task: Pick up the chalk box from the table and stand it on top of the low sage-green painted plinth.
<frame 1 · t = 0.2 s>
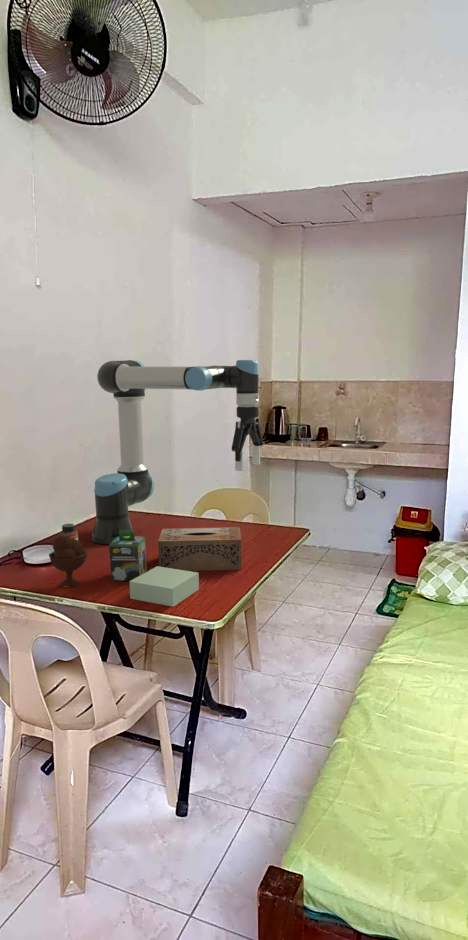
hand: (248, 467, 219), 28 cm above the table, tool pointing down, fingers open, 13 cm apart
supplement bottle: (70, 558, 212), on the table
ice cream bowl: (69, 584, 187), on the table
tissue box cover: (200, 564, 205), on the table
plinth: (165, 593, 179), on the table
chalk box: (129, 576, 194), on the table
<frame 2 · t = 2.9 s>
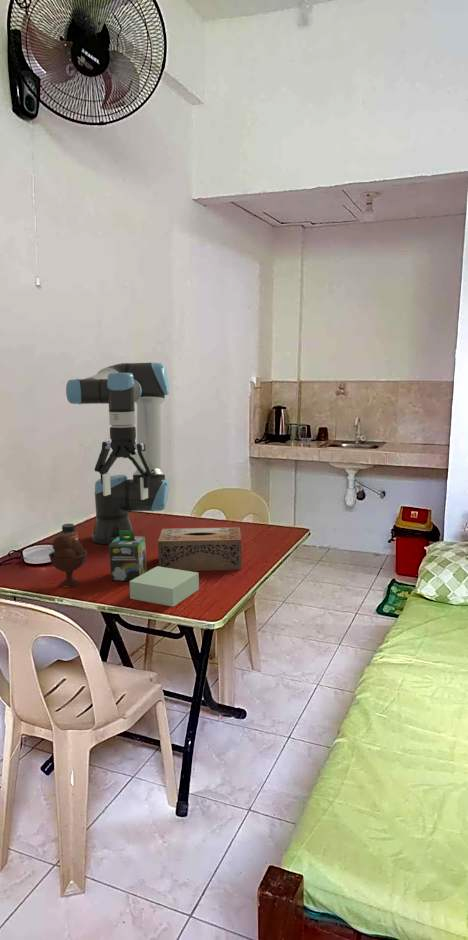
hand: (125, 497, 189), 25 cm above the table, tool pointing down, fingers open, 13 cm apart
nothing on the table moved.
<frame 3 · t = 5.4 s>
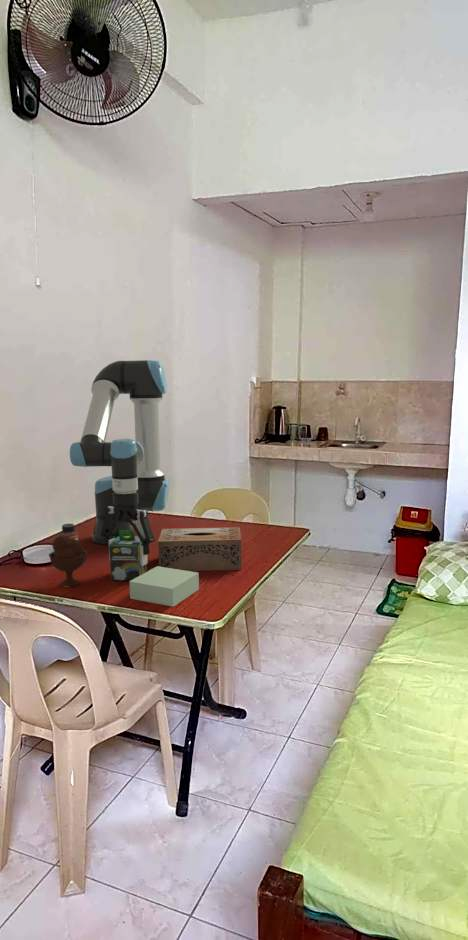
hand: (128, 562, 193), 4 cm above the table, tool pointing down, fingers closed on chalk box, 11 cm apart
chalk box: (129, 576, 194), on the table, touching gripper
everything else where it was.
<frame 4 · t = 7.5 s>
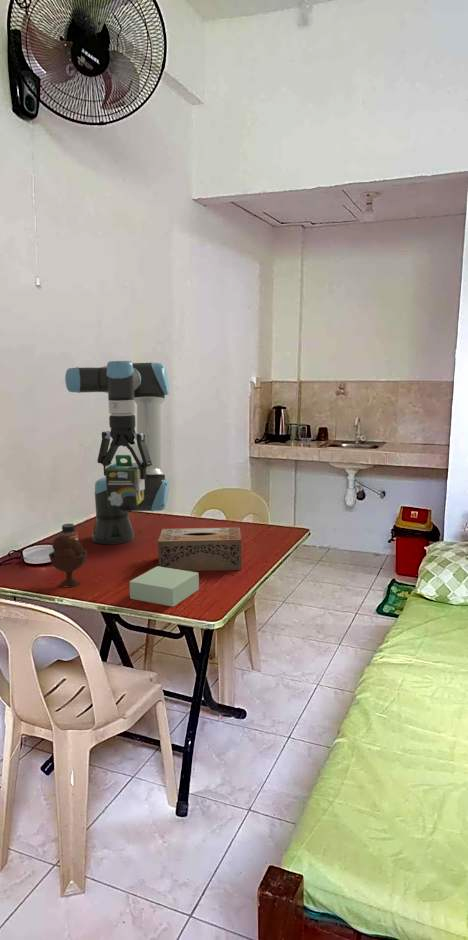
hand: (125, 488, 189), 27 cm above the table, tool pointing down, fingers closed on chalk box, 11 cm apart
chalk box: (125, 503, 190), point 23 cm above the table, touching gripper
everything else where it was.
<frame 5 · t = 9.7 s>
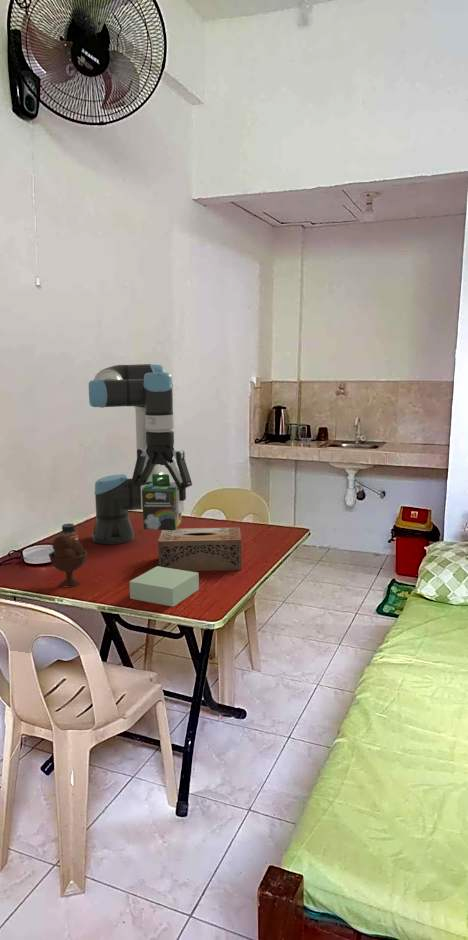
hand: (162, 510, 174), 24 cm above the table, tool pointing down, fingers closed on chalk box, 11 cm apart
chalk box: (162, 526, 175), point 20 cm above the table, touching gripper
everything else where it was.
when the fingers open (11 cm above the table, at t = 12.9 s): chalk box drops 1 cm, resting on plinth.
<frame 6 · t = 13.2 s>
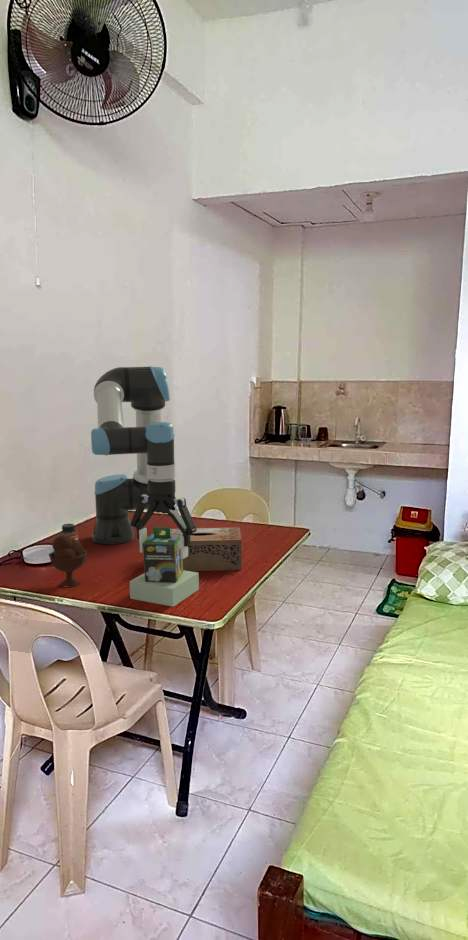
hand: (163, 554, 177), 12 cm above the table, tool pointing down, fingers open, 13 cm apart
chalk box: (164, 577, 178), point 5 cm above the table, touching plinth
everything else where it was.
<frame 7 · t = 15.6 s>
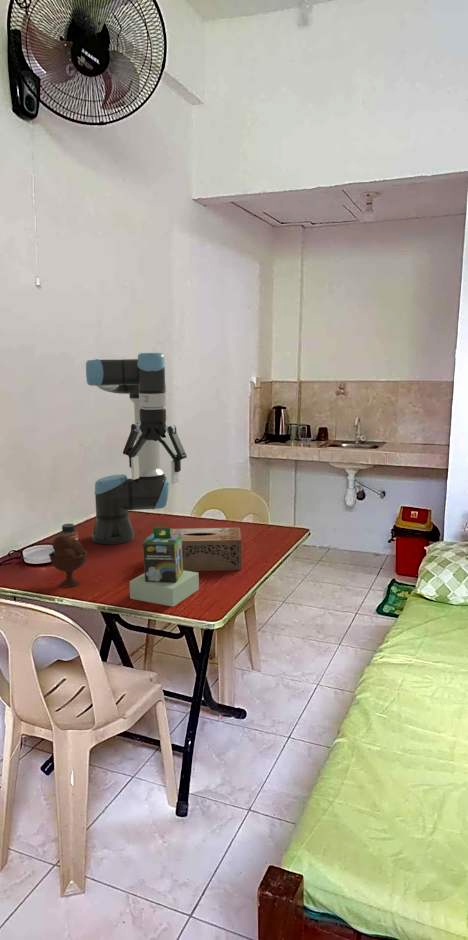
hand: (155, 480, 184), 30 cm above the table, tool pointing down, fingers open, 13 cm apart
nothing on the table moved.
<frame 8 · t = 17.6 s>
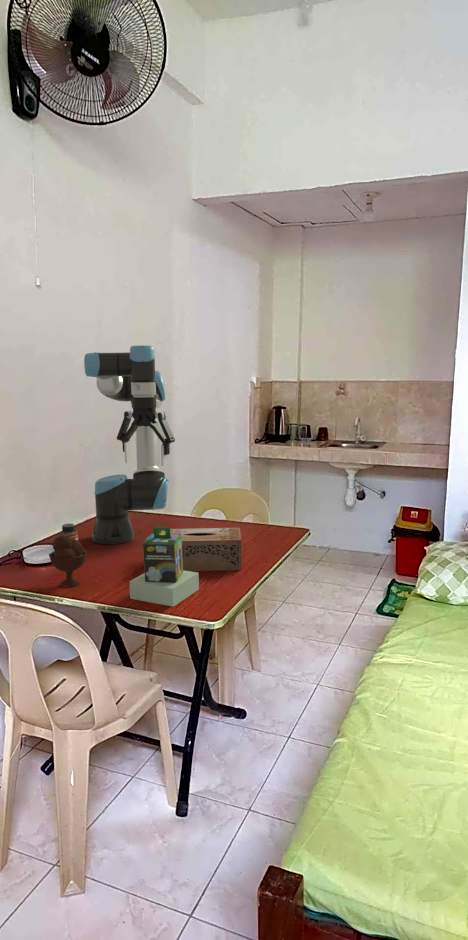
hand: (146, 463, 200), 33 cm above the table, tool pointing down, fingers open, 13 cm apart
nothing on the table moved.
at the end: chalk box inside the target area on the plinth (0.1 cm from its centre), point 4.8 cm above the plinth's base; chalk box tilted 0°; the gripper is holding nothing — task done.
